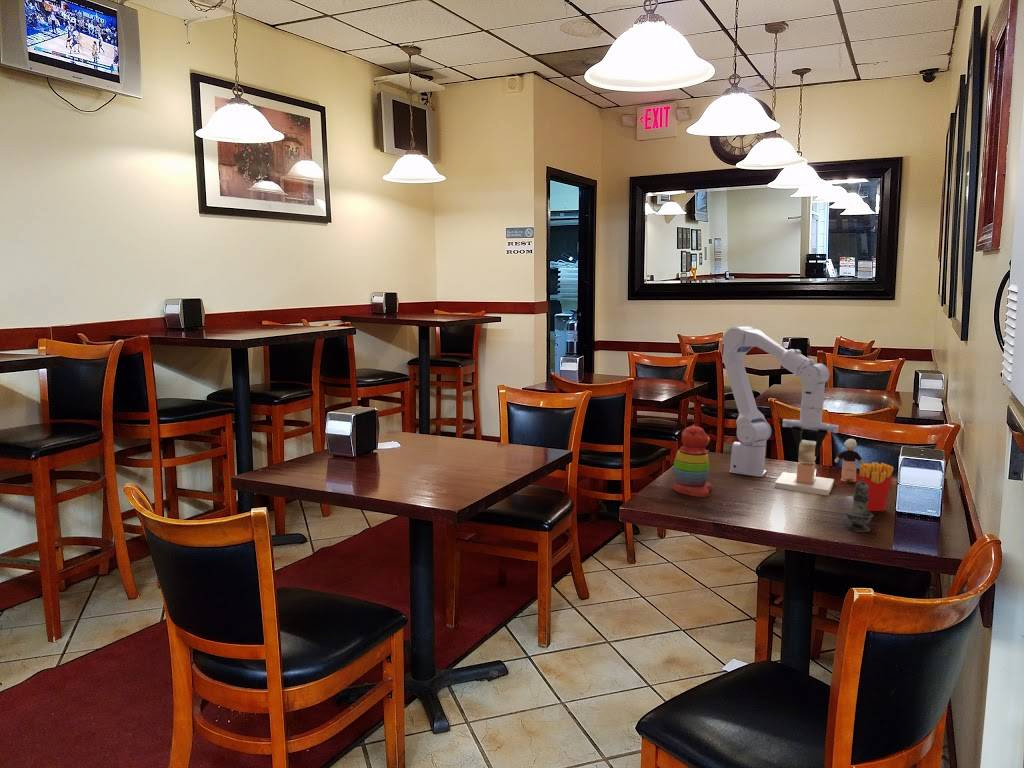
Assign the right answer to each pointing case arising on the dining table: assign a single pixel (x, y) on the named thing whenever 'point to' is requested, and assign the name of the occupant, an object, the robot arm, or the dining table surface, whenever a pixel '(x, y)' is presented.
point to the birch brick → (807, 451)
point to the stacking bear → (692, 463)
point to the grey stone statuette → (859, 509)
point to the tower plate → (804, 484)
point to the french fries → (876, 484)
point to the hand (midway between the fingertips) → (807, 454)
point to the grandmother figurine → (849, 461)
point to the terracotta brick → (805, 472)
